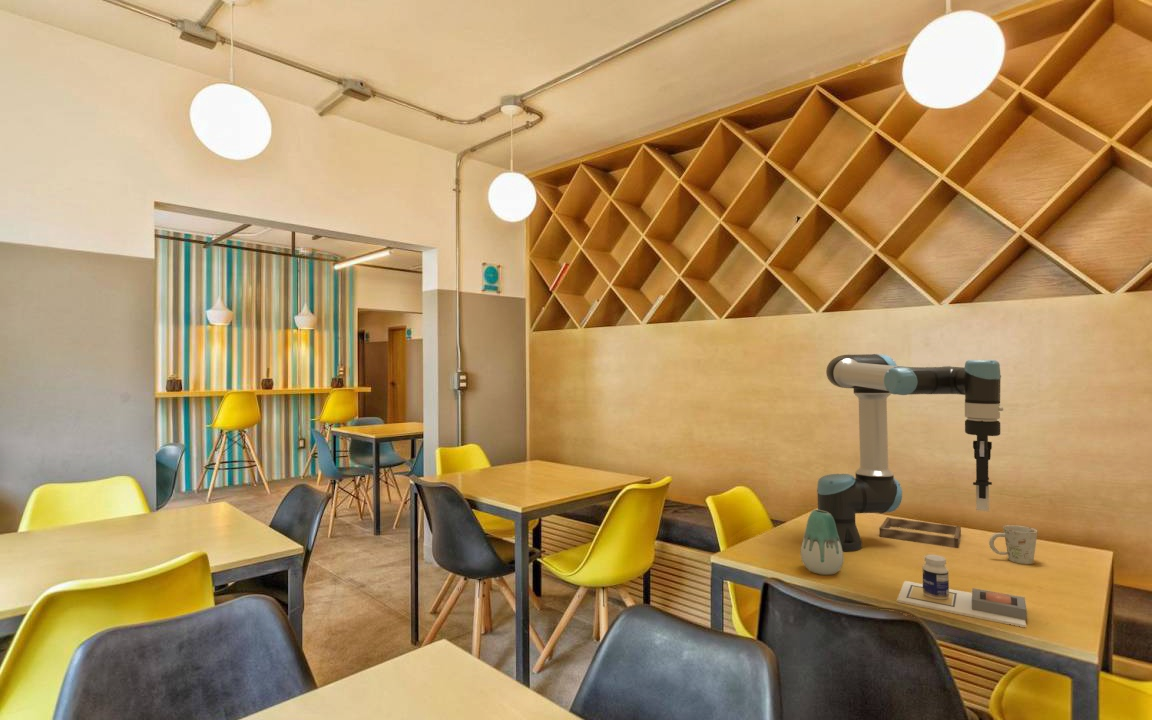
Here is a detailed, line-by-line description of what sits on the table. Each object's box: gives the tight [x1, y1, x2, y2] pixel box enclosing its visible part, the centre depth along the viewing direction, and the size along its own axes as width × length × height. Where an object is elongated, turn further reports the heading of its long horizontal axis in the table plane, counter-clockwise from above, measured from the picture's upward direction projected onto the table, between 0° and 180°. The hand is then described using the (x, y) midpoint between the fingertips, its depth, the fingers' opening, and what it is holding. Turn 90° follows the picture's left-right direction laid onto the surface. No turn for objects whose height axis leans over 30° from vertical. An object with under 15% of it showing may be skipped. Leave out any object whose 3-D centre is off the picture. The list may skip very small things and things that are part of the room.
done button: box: [986, 591, 1011, 605], centre depth 141 cm, size 5×5×3 cm
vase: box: [800, 509, 844, 576], centre depth 170 cm, size 12×12×18 cm
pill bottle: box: [922, 554, 950, 600], centre depth 149 cm, size 6×6×10 cm
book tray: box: [878, 517, 962, 549], centre depth 205 cm, size 23×18×3 cm
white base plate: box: [896, 580, 1028, 629], centre depth 146 cm, size 26×16×3 cm, turn 54°
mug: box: [988, 524, 1038, 565], centre depth 178 cm, size 8×13×10 cm, turn 78°
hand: (982, 510), depth 149 cm, fingers closed
